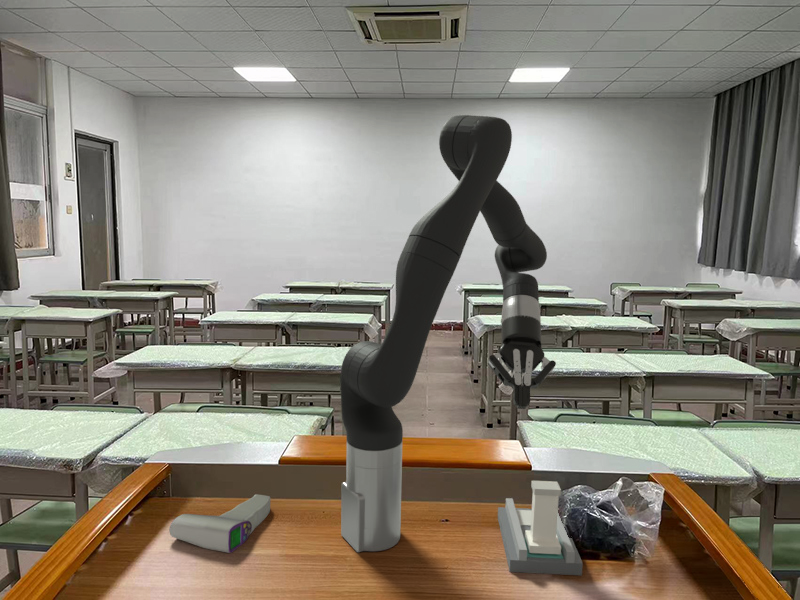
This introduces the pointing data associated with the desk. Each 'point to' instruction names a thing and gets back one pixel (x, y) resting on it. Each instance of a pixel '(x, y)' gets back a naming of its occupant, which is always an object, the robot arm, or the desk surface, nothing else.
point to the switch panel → (517, 550)
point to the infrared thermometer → (222, 525)
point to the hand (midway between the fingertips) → (521, 407)
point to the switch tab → (544, 518)
